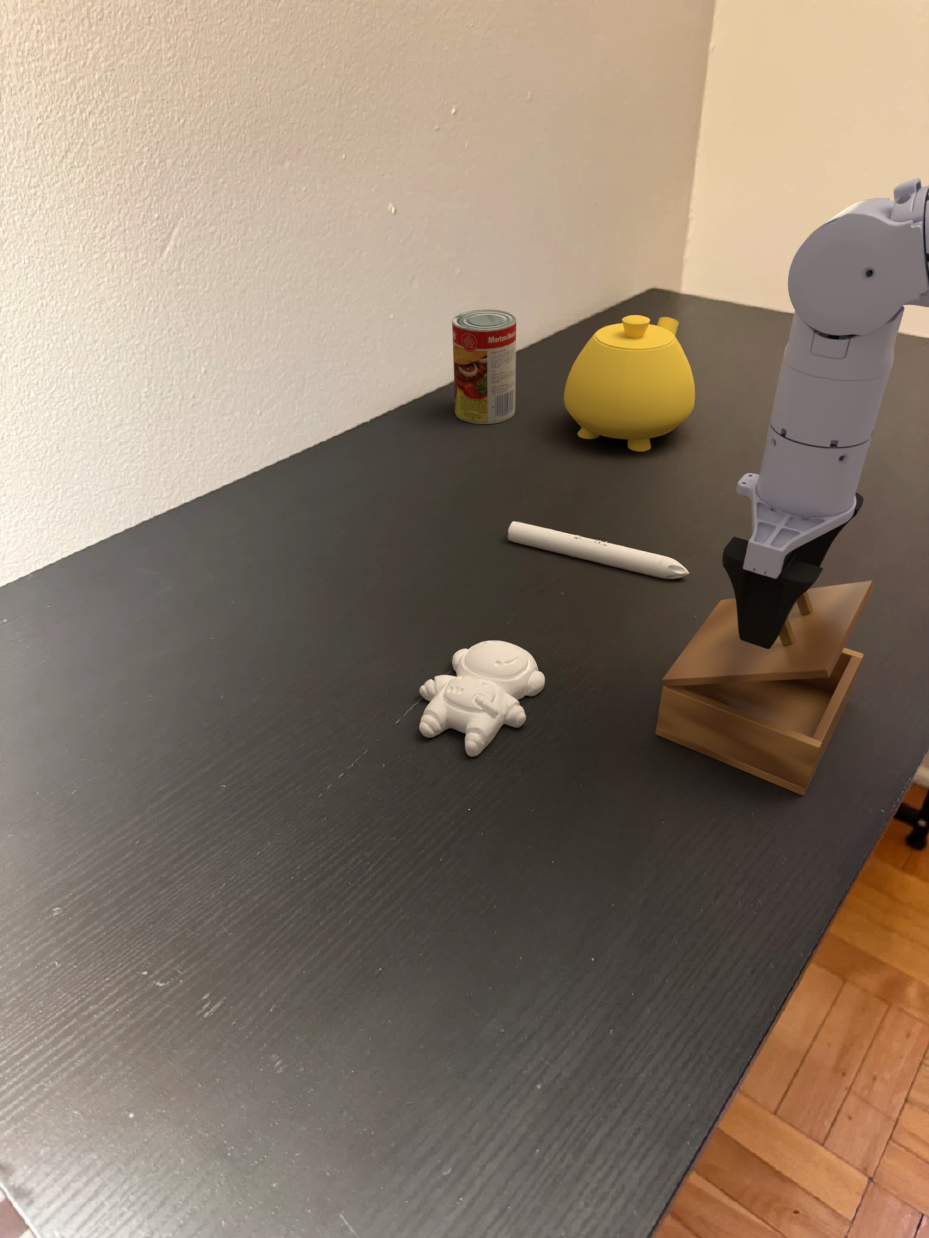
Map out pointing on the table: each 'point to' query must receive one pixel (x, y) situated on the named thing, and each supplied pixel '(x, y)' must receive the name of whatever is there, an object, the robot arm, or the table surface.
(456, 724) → the astronaut figurine
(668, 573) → the marker
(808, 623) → the brown piece
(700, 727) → the keepsake box
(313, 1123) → the table surface
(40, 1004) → the table surface
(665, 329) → the teapot
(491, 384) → the canned food
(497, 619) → the table surface
